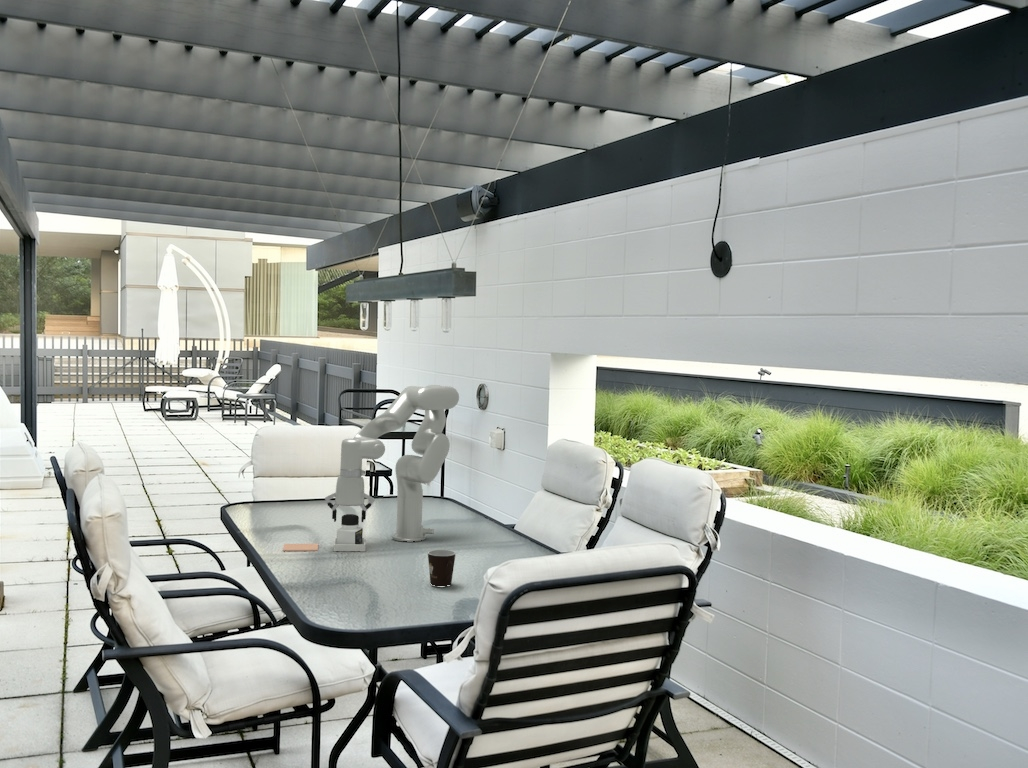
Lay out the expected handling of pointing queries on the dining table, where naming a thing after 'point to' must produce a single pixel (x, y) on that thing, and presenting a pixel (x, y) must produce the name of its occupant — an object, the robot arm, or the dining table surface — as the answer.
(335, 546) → the parts bin
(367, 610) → the dining table surface
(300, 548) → the coaster
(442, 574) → the coffee mug
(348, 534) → the medicine bottle
